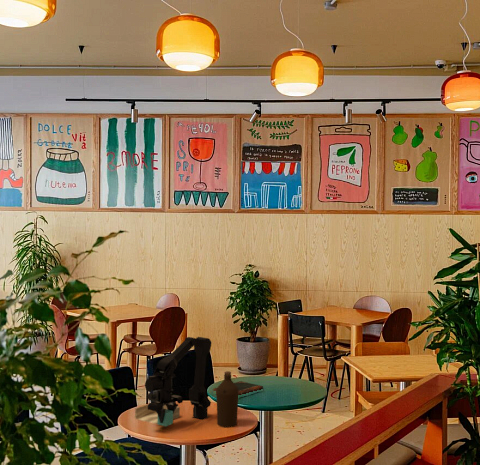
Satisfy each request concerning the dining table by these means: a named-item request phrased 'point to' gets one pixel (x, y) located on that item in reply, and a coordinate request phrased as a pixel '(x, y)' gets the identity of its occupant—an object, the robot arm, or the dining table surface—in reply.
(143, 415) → the birch crate
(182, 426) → the dining table surface
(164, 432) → the dining table surface
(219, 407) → the olive oil
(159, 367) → the robot arm
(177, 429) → the dining table surface
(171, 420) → the teal block
